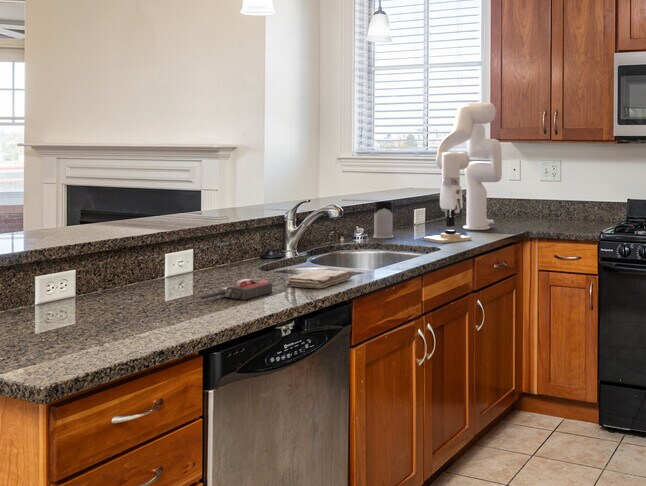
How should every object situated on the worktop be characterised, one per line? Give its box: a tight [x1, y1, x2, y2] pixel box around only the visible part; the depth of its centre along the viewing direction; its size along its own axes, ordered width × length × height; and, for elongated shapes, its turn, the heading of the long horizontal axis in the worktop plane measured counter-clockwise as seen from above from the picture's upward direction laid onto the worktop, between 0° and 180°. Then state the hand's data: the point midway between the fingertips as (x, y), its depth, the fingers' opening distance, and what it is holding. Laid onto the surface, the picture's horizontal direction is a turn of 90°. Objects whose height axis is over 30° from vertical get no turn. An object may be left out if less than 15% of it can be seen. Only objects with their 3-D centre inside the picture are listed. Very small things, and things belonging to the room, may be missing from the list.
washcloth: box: [286, 269, 353, 290], centre depth 218 cm, size 12×18×3 cm, turn 157°
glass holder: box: [372, 201, 394, 239], centre depth 323 cm, size 9×14×15 cm, turn 10°
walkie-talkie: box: [200, 278, 273, 301], centre depth 198 cm, size 9×4×20 cm
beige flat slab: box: [423, 232, 472, 244], centre depth 311 cm, size 16×12×3 cm
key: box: [444, 229, 457, 234], centre depth 310 cm, size 3×3×2 cm
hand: (450, 226), depth 309 cm, fingers closed
